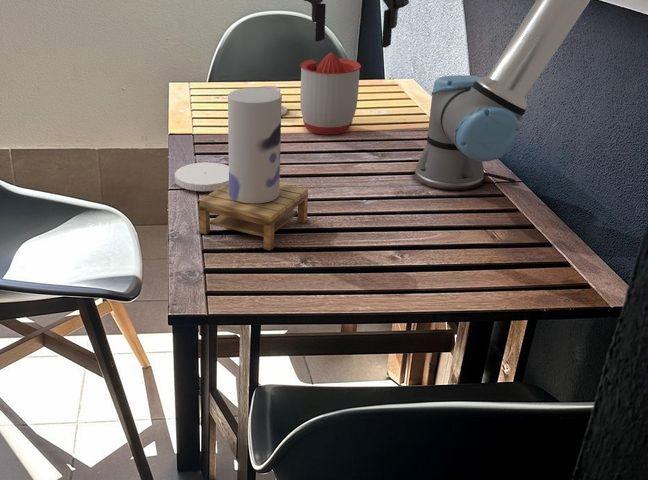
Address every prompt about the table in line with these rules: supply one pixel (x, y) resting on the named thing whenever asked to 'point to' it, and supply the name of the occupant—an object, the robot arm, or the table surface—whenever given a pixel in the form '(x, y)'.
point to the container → (254, 144)
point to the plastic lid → (202, 176)
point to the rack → (253, 212)
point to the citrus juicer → (329, 94)
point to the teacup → (283, 109)
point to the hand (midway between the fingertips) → (352, 43)
